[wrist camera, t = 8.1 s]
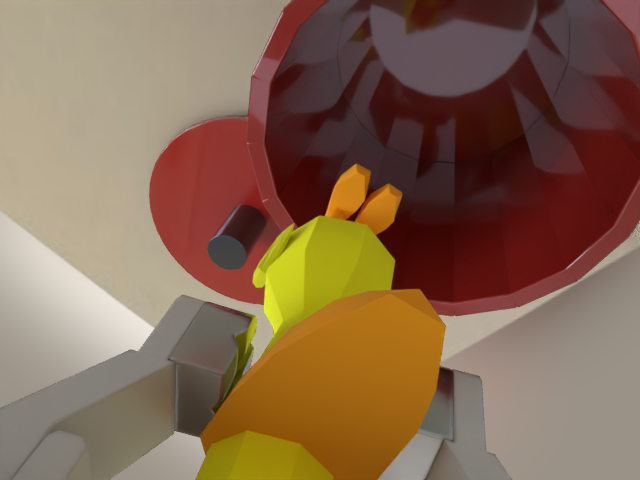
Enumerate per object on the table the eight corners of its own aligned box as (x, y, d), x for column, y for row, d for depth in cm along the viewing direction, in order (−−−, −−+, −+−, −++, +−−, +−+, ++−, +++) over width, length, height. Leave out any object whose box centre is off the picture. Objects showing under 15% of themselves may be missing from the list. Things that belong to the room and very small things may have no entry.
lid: (158, 268, 42) (124, 309, 38) (155, 90, 34) (111, 117, 30) (335, 315, 41) (320, 364, 36) (375, 142, 33) (362, 178, 28)
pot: (311, 142, 33) (234, 267, 22) (352, -114, 26) (268, -130, 14) (524, 193, 32) (562, 354, 21) (632, -61, 25) (787, -32, 13)
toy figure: (376, 63, 13) (156, 531, 3) (493, 138, 14) (613, 760, 4) (263, 247, 17) (0, 730, 7) (358, 302, 17) (236, 834, 7)
